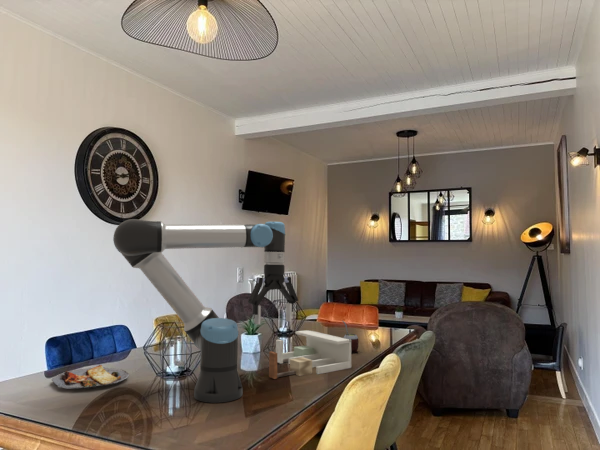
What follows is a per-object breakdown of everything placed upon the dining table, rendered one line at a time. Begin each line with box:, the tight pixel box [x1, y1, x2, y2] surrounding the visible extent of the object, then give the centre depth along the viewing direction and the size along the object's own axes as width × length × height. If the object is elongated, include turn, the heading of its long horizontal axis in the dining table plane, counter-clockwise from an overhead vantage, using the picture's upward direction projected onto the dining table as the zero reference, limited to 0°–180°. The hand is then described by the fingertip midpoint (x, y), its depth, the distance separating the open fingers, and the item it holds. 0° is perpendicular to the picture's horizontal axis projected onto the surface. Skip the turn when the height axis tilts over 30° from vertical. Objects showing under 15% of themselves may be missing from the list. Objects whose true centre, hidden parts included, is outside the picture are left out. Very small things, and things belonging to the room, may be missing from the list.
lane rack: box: [283, 329, 352, 375], centre depth 190 cm, size 17×28×11 cm, turn 37°
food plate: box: [51, 364, 130, 390], centre depth 161 cm, size 25×23×4 cm
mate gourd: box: [342, 320, 359, 355], centre depth 212 cm, size 8×8×15 cm
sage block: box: [275, 339, 314, 364], centre depth 195 cm, size 16×6×9 cm, turn 127°
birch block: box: [268, 351, 313, 380], centre depth 172 cm, size 16×6×9 cm, turn 127°
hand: (273, 322), depth 168 cm, fingers open, 13 cm apart
